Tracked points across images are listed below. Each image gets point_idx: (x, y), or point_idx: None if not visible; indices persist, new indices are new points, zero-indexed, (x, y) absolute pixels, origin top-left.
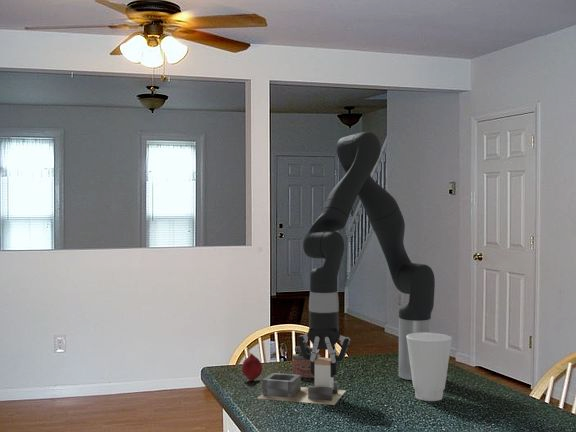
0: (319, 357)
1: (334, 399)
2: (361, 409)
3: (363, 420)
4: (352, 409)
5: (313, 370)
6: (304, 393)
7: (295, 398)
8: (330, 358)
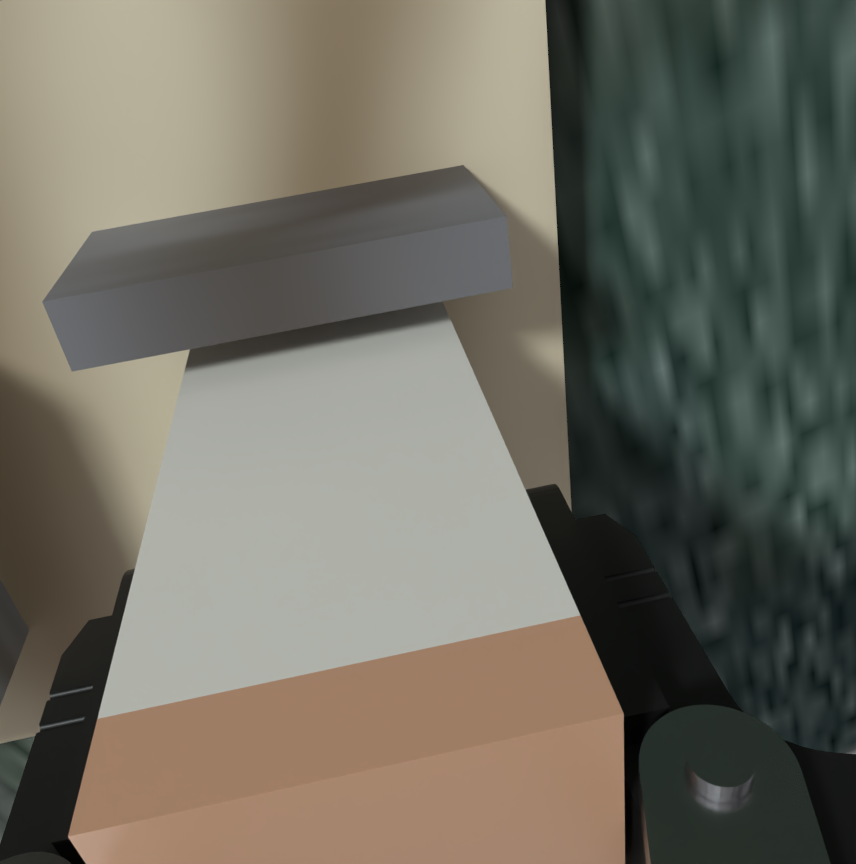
0: (129, 841)
1: (519, 467)
2: (802, 418)
3: (835, 654)
4: (714, 458)
5: None
6: (24, 412)
7: (78, 632)
8: (542, 781)
